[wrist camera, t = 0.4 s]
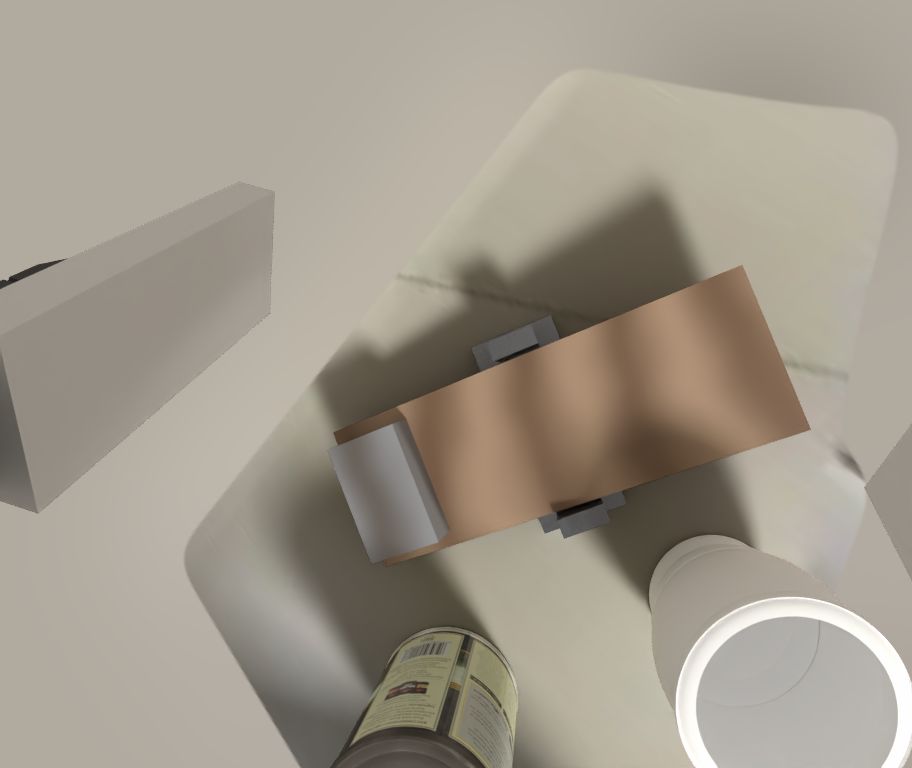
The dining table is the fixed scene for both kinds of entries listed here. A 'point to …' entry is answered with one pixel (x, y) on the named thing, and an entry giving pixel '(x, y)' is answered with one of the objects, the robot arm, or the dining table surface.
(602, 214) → the dining table surface
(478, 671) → the coffee can
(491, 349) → the pivot stand
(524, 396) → the beam
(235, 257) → the robot arm
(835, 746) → the jar
